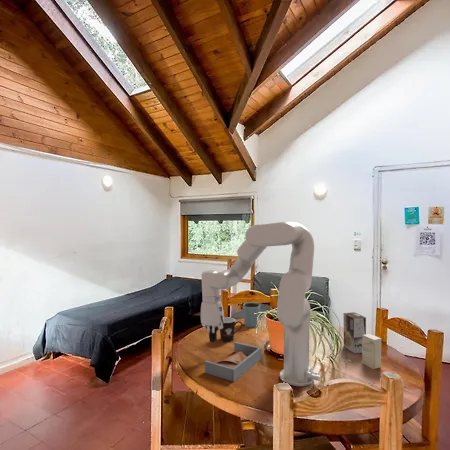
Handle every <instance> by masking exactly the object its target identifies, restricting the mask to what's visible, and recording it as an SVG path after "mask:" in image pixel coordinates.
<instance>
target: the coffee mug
mask: <svg viewBox="0 0 450 450" xmlns="http://www.w3.org/2000/svg"><path fill="white" fill-rule="evenodd" d="M224 320H225V322H224V324H223V328H222V329H219V334H220V340H221V342H224V343H230V342H233V341H234V339H235V334H236V333H238V332H239V331H240V330H241V329H242V328H243V322H242V321H236V319H235V318H233V317H226V316H225V317H224ZM238 323H239V324H240V327H239V328H238V329H237V330H235V328H236V325H237V324H238Z"/></svg>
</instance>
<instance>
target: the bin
mask: <svg viewBox="0 0 450 450" xmlns="http://www.w3.org/2000/svg"><path fill="white" fill-rule="evenodd" d="M262 349H263V348H262V347H260V346H259V347H258V346H255V345H252V344H251V345H250V344H247V343H246V344H245V343H242V342H238V341H234V342H233V352H234V353H235V354H236V353H238V352H239V351H241V352H242V353H243V354H244V355H245V356H247V358H245V359H244V360H243V361H242V362H240V363H239V364H238V365H236V366H235V367H234V368H231V367H227V366H224V365H220V364H217V363H218V362H213V361H209V360H205V361H204V373H205V374H208V375H211V376H215V377H217V378H221V379H225V380H227V381H230V382H236V381H237V380H238V379H239V378H241V376H243V375H244V374H245V373H246V372H247V371H248V370H250V369H251V368H252V367H253V366H254V365H256V364H257V362H259V361H260V360H261V359H263V357H262V354H263V353H262Z"/></svg>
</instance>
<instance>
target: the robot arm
mask: <svg viewBox="0 0 450 450" xmlns="http://www.w3.org/2000/svg"><path fill="white" fill-rule="evenodd" d="M244 236H245V237H244V239H245V240H244V241H243V242H242V243H241V245H240V246H238V248H237V250H236V253H237V257H236V258H237V259H236V260H235V261H234V262H233V264H232V265H231V266H230V267H229V268H228V269H226V270H222V271H218V270H205V271H203V272H202V273H201V291H202V292H201V293H202V297H201V298H202V302H201V304H200V305H201V306H200V323H201V326H202V327H204V328H206V330H207V333H208V337H209V339H208V340H209V342H211V343H214V342H216V341H217V340H218V339H217V338H218V335H217V333H218V330H220V329H222V328H223V324H224V322H225V320H224V318H225V313H224V312H225V311H224V307H223V303H222V299H223V298H222V297H221V296H220V290H221V291H222V290H227V289H229V288H232V287H234V286H237V285H238V284H239V283H240V282H241V281H242V279H243V278H244V277H245V276H246V275H247V274H248V273H249V271H250V269H252V266H253V265H254V262H255V261H256V260H257V259H258V258H259V256H261V255H262V253H263V252H264V251H265V250H266V249H267V248H268V247H279V246H280V247H281V246H290V245H291V252H290V259H289V269H288V271H286V272H285V273H284V274H283V275H282V277H281V279H280V282H279V284H278V285H279V286H278V296H277V304H276V317H277V320H278V322H279V323H280V324H281V325H282V326H283V369H281V371H280V372H279V378H280V380H281V381H282V382H284V383H285V382H286V383H285V384H287V383H289V384H288V385H290V386H294V387H307V386H309V385H312V384H313V382H314V381H316V382H321V378H322V377H321V375H320V372H317V371H313V369H312V368H313V367H312V366H310V324H311V304H310V302H309V301H308V299H307V298H306V293H307V292H308V291H309V290H310V289H311V286H312V277H313V269H314V268H313V267H314V253H315V242H314V237H313V236H312V234H311V231H310V230H309V229H308V228H307V227H306V226H304V225H303V224H301V223H299V222H295V221H281V222H273V223H263V224H262V223H261V224H253V225H251V226H250V227H248V229H246V231H245V235H244Z"/></svg>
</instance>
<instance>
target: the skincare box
mask: <svg viewBox="0 0 450 450" xmlns="http://www.w3.org/2000/svg"><path fill="white" fill-rule="evenodd" d="M361 355H362V356H361V364H363V365H364V366H366V367H369V368H370V369H373V370H375V369H380V368H381V366H382V338H381V337H379V336H376V335H374V334H371V333H366V334H365V335H363V343H362V353H361Z"/></svg>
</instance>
